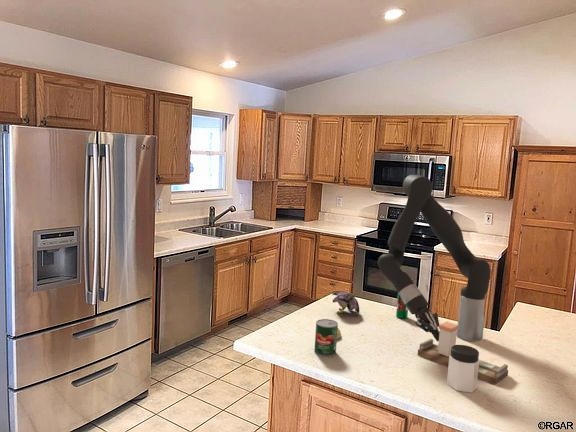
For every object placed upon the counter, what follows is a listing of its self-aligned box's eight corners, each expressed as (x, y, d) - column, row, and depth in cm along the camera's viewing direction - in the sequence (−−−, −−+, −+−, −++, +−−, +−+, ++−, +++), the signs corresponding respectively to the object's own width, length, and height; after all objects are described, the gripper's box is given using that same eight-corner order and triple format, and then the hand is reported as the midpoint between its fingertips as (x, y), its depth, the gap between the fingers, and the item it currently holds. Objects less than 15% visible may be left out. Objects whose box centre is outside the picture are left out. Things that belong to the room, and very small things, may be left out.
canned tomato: (316, 356, 157) (318, 326, 156) (312, 347, 165) (313, 319, 164) (338, 356, 159) (340, 326, 157) (333, 347, 166) (334, 318, 165)
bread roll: (318, 339, 174) (319, 329, 173) (321, 331, 182) (321, 321, 182) (340, 342, 172) (340, 332, 172) (341, 333, 181) (342, 324, 181)
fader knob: (436, 352, 160) (439, 324, 159) (444, 348, 164) (446, 321, 163) (448, 357, 157) (451, 328, 156) (456, 353, 161) (458, 325, 159)
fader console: (417, 354, 163) (418, 344, 163) (431, 348, 170) (432, 338, 170) (495, 384, 143) (496, 372, 143) (507, 375, 150) (508, 364, 150)
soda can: (407, 319, 201) (409, 293, 199) (396, 318, 202) (398, 292, 200) (407, 316, 206) (409, 290, 204) (395, 314, 207) (397, 289, 205)
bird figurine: (369, 298, 198) (338, 287, 197) (362, 323, 196) (330, 312, 195) (361, 297, 212) (331, 287, 212) (353, 321, 210) (324, 310, 210)
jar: (453, 376, 147) (457, 341, 146) (479, 385, 142) (483, 349, 141) (443, 386, 141) (446, 349, 139) (469, 395, 135) (473, 358, 134)
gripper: (410, 296, 162) (439, 339, 155) (429, 290, 171) (456, 331, 164) (397, 307, 167) (423, 349, 159) (415, 300, 176) (442, 340, 169)
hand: (440, 340), depth 162 cm, fingers closed
